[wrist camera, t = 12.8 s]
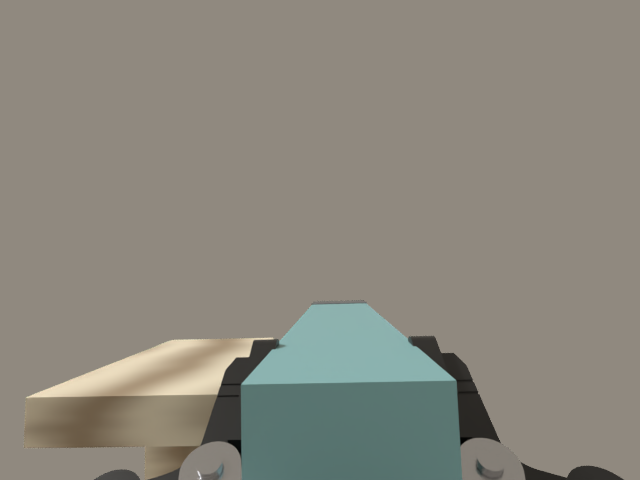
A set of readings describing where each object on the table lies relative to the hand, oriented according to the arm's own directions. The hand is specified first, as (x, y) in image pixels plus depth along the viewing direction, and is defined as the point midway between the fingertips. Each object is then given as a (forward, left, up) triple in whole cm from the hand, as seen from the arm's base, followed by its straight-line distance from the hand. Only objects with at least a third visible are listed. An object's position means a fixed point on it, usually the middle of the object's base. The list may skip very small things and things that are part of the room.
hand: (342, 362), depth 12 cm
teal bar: (0, +8, -3) cm, 9 cm away
